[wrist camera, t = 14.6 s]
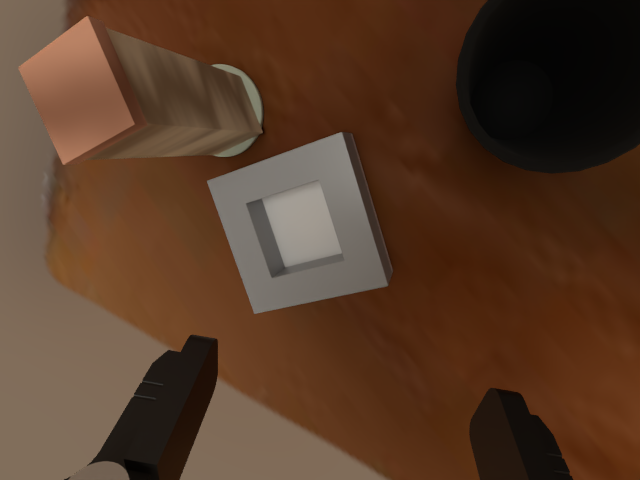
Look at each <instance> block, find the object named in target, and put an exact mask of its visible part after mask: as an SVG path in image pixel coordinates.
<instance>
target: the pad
mask: <svg viewBox="0 0 640 480" xmlns="http://www.w3.org/2000/svg"><path fill="white" fill-rule="evenodd" d="M211 66H213V67H216V68H219V69H222V70H225V71H227V72H230V73H233V74H236V75H239V76H241V78H242V81H243V83H244V86H245V88H246V91H247V93H248V96H249V98H250V101H251V103H252V106H253V108H254V111H255V113H256V116H257V119H258V121H259V124H260V126H261V128H262V125H263V119H264V107H263V101H262V98H261V95H260V92H259V90H258V88H257V86H256V85H255V83H254V82H253V80H252V79H251V78H250V77H249V76H248V75H247V74H245V73H244V72H243V71H241V70H239V69H237V68H235V67H232V66H229V65H224V64H215V65H211ZM258 136H259V135H257V136H255V137H253V138H251V139H249V140H247V141H245V142H243V143H241V144H238V145H236V146H234V147H232V148H230V149H228V150H226V151H224V152H222V153H220V154H217V155H214V156H219V157H230V156H235V155H239V154H241V153H243V152H244V151H246V150H247V149H249V148H250V147H251V146H252V145H253V143H254V142H255V141H256V139H257V138H258Z"/></svg>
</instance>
